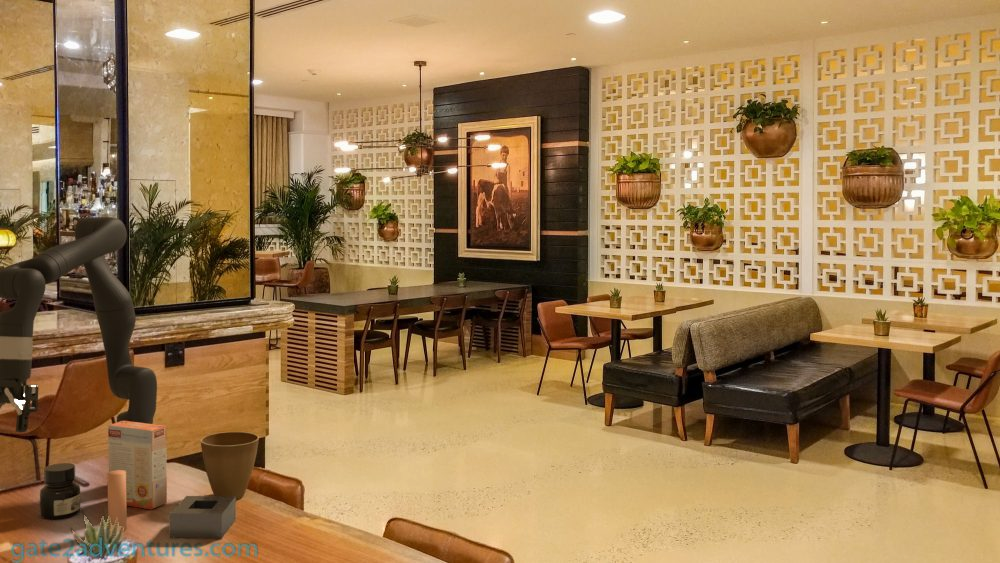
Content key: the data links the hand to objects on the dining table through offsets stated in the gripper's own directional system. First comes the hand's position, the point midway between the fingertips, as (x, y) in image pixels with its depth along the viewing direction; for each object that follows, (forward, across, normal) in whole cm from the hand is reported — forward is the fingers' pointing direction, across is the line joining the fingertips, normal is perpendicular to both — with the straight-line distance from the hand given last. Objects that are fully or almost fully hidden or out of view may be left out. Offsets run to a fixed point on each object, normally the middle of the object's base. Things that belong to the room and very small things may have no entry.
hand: (6, 430), depth 183 cm
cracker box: (+21, -3, -38) cm, 44 cm away
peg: (+24, -12, -22) cm, 35 cm away
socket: (+24, -30, -31) cm, 49 cm away
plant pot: (+20, -22, -52) cm, 60 cm away
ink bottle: (+23, +8, -25) cm, 35 cm away
